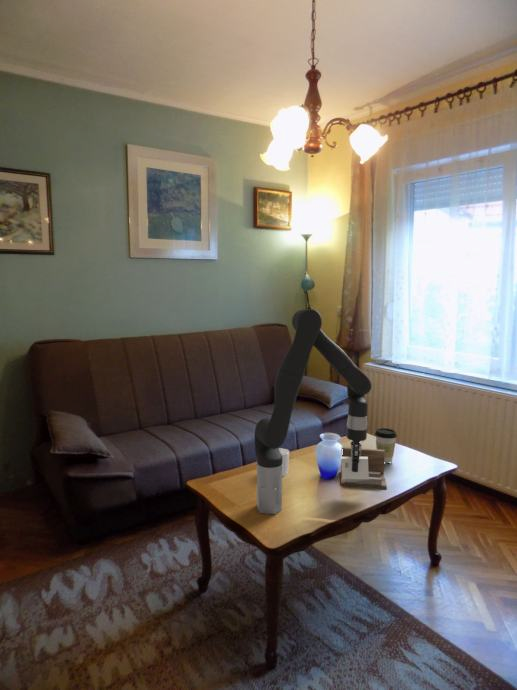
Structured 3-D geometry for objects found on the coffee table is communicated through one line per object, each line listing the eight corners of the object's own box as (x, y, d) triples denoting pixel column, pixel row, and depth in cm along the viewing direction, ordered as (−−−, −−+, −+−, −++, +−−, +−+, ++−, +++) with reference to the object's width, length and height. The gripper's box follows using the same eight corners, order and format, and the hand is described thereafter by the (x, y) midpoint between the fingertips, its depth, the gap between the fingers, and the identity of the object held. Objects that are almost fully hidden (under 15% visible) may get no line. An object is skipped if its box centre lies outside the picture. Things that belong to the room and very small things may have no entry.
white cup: (289, 470, 197) (289, 448, 196) (288, 477, 189) (289, 455, 188) (271, 469, 198) (271, 447, 196) (270, 476, 190) (270, 454, 189)
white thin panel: (368, 479, 170) (367, 458, 169) (342, 478, 172) (341, 458, 171) (368, 476, 172) (367, 456, 171) (342, 476, 174) (341, 456, 173)
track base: (386, 489, 179) (387, 462, 177) (340, 485, 182) (341, 459, 181) (383, 475, 192) (384, 450, 191) (340, 471, 196) (341, 447, 194)
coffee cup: (369, 459, 210) (370, 428, 208) (387, 457, 213) (389, 426, 211) (381, 467, 201) (382, 435, 199) (400, 465, 204) (401, 433, 202)
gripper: (368, 432, 162) (365, 478, 164) (366, 422, 176) (363, 464, 178) (347, 431, 164) (344, 476, 166) (346, 420, 177) (344, 462, 179)
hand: (354, 470), depth 172 cm, fingers closed on white thin panel, 2 cm apart
